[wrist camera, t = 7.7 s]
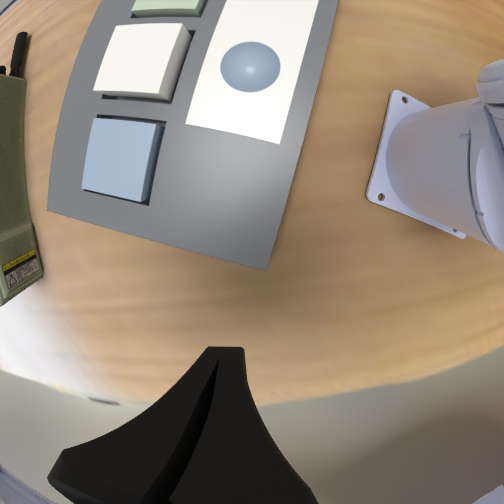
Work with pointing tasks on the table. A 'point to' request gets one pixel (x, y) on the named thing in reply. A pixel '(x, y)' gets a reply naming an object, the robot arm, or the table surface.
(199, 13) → the sage key
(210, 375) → the robot arm
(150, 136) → the slate-blue key
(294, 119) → the keypad
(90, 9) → the table surface
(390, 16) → the table surface
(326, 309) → the table surface
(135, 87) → the off-white key
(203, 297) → the table surface
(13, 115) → the handheld radio
